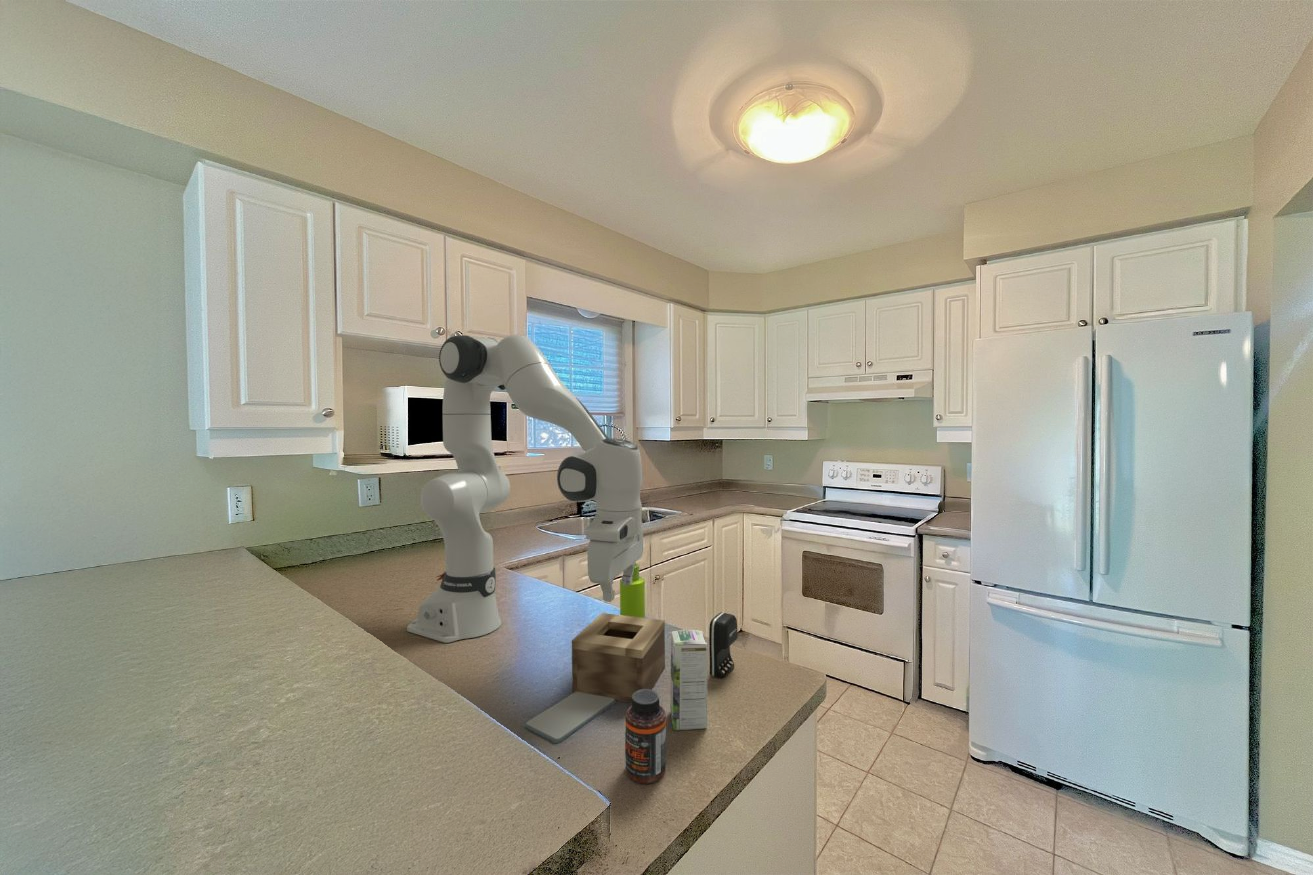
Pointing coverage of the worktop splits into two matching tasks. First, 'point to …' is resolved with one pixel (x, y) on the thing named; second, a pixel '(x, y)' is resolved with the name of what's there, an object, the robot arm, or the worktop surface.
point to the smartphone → (568, 715)
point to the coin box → (618, 656)
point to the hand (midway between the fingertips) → (618, 592)
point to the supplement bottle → (645, 737)
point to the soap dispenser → (633, 596)
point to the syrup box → (688, 679)
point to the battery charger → (721, 644)
